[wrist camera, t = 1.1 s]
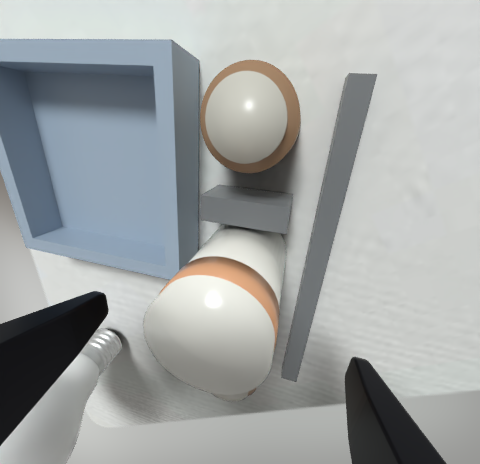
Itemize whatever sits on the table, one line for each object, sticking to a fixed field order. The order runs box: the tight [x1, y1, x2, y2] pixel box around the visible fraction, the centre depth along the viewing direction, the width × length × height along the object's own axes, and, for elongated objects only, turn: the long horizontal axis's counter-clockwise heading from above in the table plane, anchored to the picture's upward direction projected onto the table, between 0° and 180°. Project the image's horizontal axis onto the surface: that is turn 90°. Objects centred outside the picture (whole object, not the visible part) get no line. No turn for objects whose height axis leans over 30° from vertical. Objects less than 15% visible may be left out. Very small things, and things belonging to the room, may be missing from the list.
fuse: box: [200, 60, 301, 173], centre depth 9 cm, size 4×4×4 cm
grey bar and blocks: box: [201, 73, 377, 382], centre depth 12 cm, size 6×18×2 cm, turn 176°
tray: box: [0, 39, 199, 280], centre depth 13 cm, size 11×11×2 cm
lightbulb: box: [0, 329, 122, 464], centre depth 15 cm, size 6×6×11 cm
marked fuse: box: [143, 224, 286, 395], centre depth 11 cm, size 4×4×7 cm
